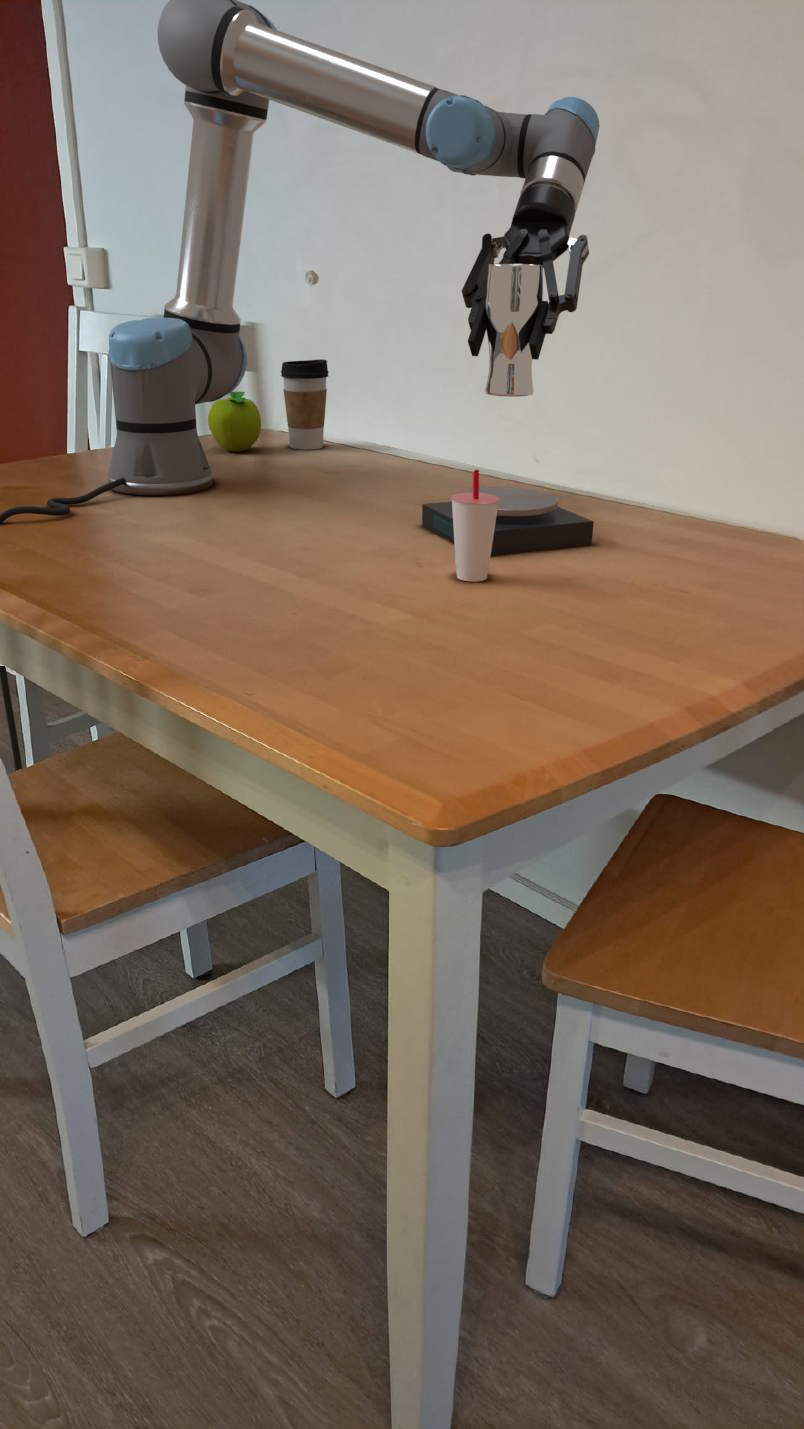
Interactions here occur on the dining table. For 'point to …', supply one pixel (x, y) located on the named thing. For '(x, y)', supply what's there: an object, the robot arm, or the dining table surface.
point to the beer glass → (511, 326)
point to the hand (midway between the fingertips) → (502, 349)
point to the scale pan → (520, 501)
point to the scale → (518, 529)
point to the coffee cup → (305, 402)
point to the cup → (473, 531)
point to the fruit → (235, 422)
